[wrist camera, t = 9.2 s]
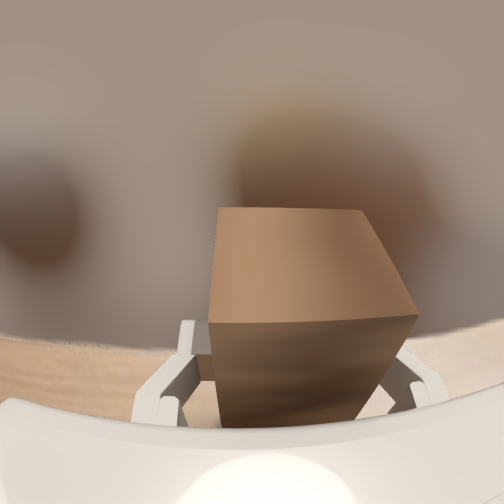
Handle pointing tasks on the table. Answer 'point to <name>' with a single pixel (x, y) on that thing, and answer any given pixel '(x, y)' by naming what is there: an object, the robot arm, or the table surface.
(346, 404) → the walnut pillar
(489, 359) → the table surface
